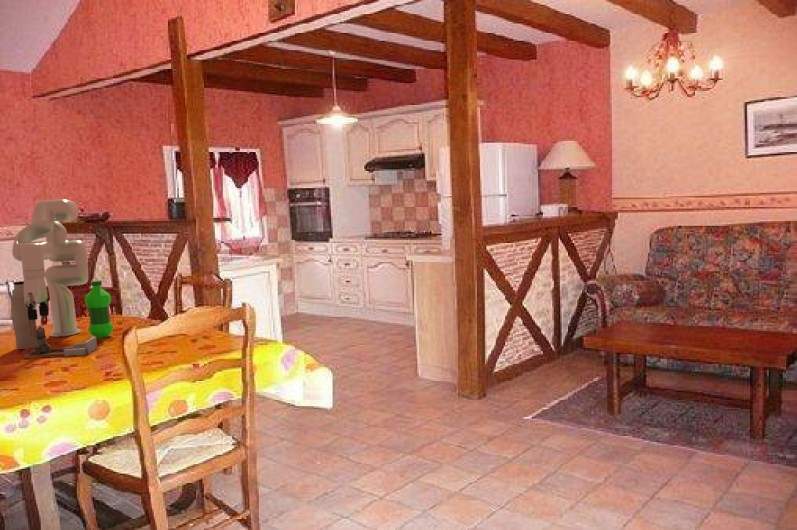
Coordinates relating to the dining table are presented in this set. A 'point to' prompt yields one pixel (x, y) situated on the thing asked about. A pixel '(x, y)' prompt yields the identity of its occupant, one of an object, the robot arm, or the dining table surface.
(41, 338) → the dark grey chess piece
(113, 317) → the dining table surface
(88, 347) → the socket
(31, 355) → the channel
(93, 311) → the plastic bottle
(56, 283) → the robot arm
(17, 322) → the thermos bottle
